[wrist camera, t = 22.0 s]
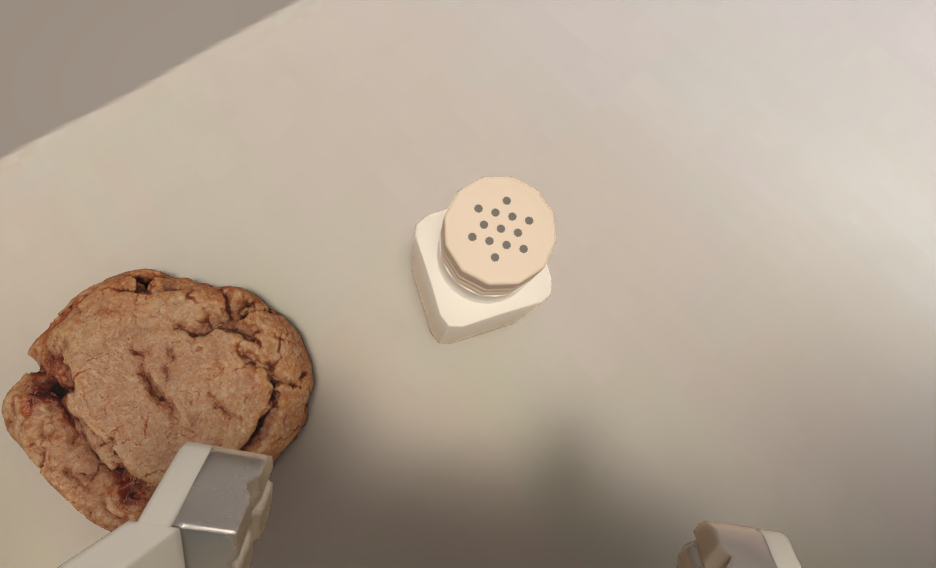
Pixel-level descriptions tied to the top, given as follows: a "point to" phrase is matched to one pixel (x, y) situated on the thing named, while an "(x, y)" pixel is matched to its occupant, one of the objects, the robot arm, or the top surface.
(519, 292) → the pepper shaker
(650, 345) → the top surface
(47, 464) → the cookie
